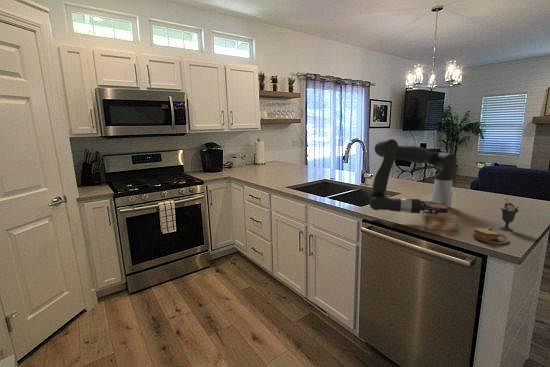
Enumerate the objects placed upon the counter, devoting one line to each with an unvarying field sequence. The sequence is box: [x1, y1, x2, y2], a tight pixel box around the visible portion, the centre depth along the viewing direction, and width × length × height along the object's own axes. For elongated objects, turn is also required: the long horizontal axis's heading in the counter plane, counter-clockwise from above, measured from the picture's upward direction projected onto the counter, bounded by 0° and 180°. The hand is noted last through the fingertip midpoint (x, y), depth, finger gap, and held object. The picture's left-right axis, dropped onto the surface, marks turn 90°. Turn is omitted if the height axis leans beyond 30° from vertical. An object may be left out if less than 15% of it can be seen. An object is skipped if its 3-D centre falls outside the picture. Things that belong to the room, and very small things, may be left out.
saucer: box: [426, 204, 451, 220], centre depth 137 cm, size 10×2×10 cm, turn 69°
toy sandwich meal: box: [472, 226, 509, 245], centre depth 120 cm, size 12×14×5 cm
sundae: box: [499, 198, 520, 232], centre depth 128 cm, size 7×7×15 cm
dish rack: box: [421, 213, 458, 232], centre depth 138 cm, size 13×13×4 cm
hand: (445, 208), depth 135 cm, fingers open, 8 cm apart
